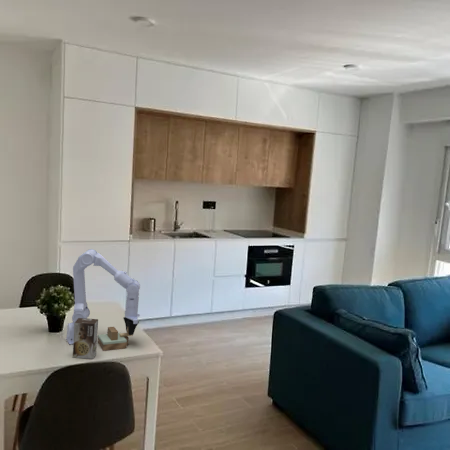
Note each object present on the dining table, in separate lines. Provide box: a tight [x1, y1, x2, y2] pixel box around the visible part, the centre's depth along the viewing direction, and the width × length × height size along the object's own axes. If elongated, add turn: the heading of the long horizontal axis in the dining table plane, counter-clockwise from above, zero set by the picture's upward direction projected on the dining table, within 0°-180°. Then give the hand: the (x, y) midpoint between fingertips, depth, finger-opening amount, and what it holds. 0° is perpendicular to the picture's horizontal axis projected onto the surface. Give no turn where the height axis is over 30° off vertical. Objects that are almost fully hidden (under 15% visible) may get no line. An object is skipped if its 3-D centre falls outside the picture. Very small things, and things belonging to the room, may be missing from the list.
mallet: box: [118, 326, 134, 337], centre depth 216 cm, size 6×3×4 cm, turn 119°
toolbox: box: [97, 336, 130, 351], centre depth 213 cm, size 13×10×4 cm
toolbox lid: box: [97, 326, 127, 345], centre depth 213 cm, size 11×10×5 cm
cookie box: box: [72, 317, 99, 360], centre depth 198 cm, size 9×6×16 cm
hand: (129, 333), depth 217 cm, fingers closed on mallet, 3 cm apart
